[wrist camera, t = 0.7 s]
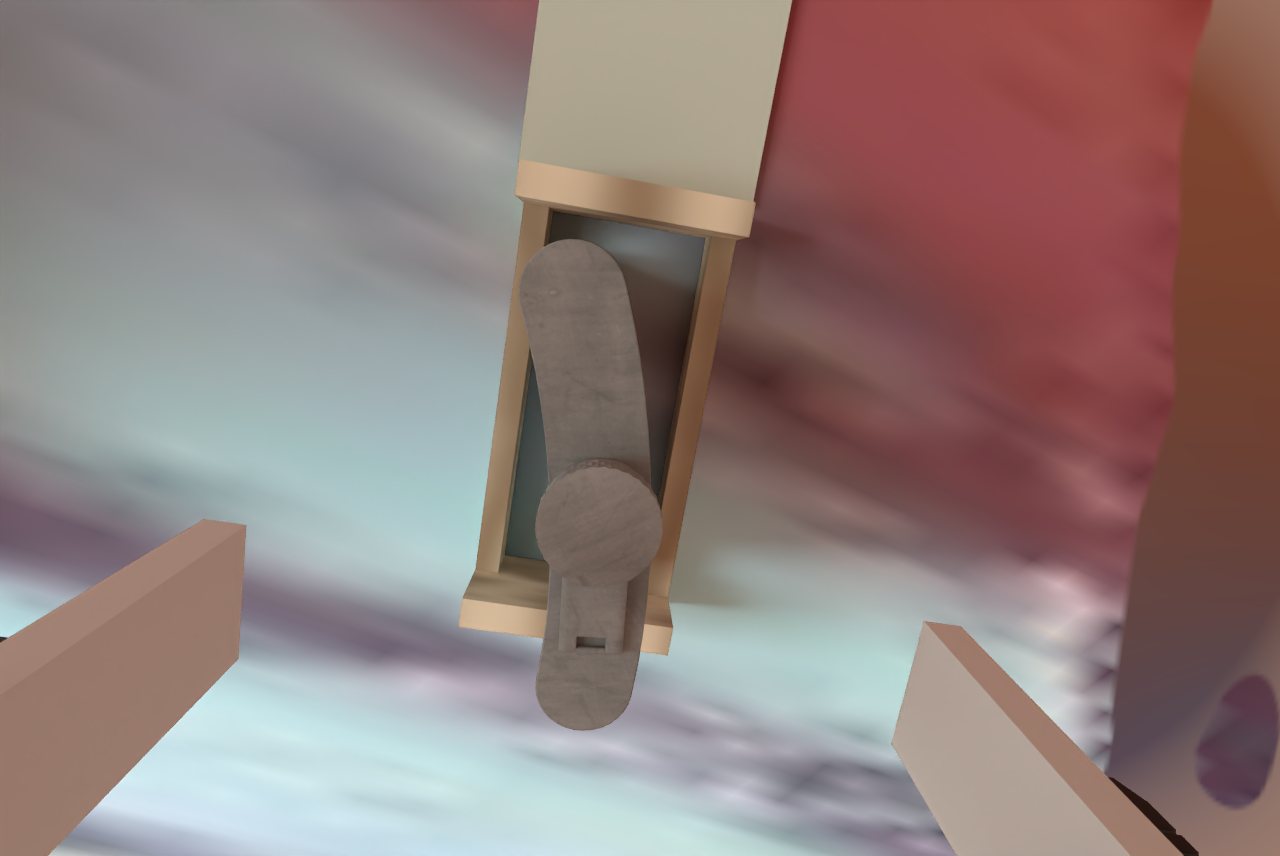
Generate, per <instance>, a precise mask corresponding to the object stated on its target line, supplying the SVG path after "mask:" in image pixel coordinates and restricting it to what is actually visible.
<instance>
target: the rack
mask: <svg viewBox="0 0 1280 856" xmlns="http://www.w3.org/2000/svg"><path fill="white" fill-rule="evenodd" d="M515 196H516V197H518V198H519V199H520V200H522V201H523V202H524V207H523V215H522V222H521V230H520V237H519V245H518V252H517V260H516V268H515V275H514V283H513V290H512V298H511V305H510V313H509V320H508V328H507V336H506V343H505V351H504V358H503V366H502V373H501V381H500V388H499V396H498V403H497V411H496V419H495V426H494V434H493V441H492V449H491V456H490V464H489V471H488V479H487V486H486V494H485V502H484V509H483V517H482V524H481V532H480V539H479V547H478V554H477V562H476V570H475V572H474V574H473V576H472V578H471V581H470V583H469V585H468V587H467V589H466V592H465V594H464V596H463V598H462V605H461V612H460V620H459V627H464V628H471V629H479V630H486V631H493V632H501V633H508V634H515V635H522V636H530V637H537V638H544V632H545V625H546V614H547V604H548V590H549V572H550V566H549V564H548V562H547V561H542V560H535V559H528V558H521V557H514V556H508V555H505V550H506V543H507V536H508V529H509V521H510V514H511V507H512V500H513V493H514V486H515V479H516V472H517V465H518V457H519V450H520V443H521V436H522V429H523V422H524V415H525V408H526V401H527V393H528V386H529V379H530V372H531V365H532V354H531V349H530V344H529V340H528V336H527V332H526V328H525V324H524V320H523V316H522V312H521V308H520V303H519V283H520V279H521V275H522V273H523V270H524V268H525V266H526V264H527V263H528V262H529V260H530V259H531V257H532V256H533V255H534V254H536V253H537V252H538V251H539V250H540V249H542V248H543V247H545V246H546V245H548V244H549V237H550V230H551V223H552V216H553V211H557V212H562V213H568V214H573V215H579V216H585V217H590V218H596V219H601V220H607V221H613V222H618V223H624V224H629V225H635V226H641V227H646V228H652V229H657V230H663V231H669V232H674V233H680V234H685V235H691V236H697V237H702V238H706V239H705V245H704V250H703V256H702V261H701V267H700V272H699V278H698V283H697V289H696V294H695V299H694V305H693V310H692V316H691V321H690V327H689V332H688V338H687V343H686V349H685V354H684V360H683V365H682V371H681V376H680V381H679V387H678V392H677V398H676V403H675V409H674V414H673V420H672V425H671V431H670V436H669V442H668V447H667V453H666V458H665V464H664V469H663V474H662V480H661V485H660V491H659V496H658V503H659V505H660V510H661V514H662V520H663V526H662V530H663V535H662V537H661V545H660V547H659V548H658V550H657V553H656V556H655V557H654V558H653V559H652V560H651V562H650V573H649V585H648V596H647V606H646V614H645V623H644V631H643V638H642V643H641V649H640V652H646V653H654V654H661V655H668V651H669V646H670V641H671V636H672V631H673V625H672V619H671V613H670V607H669V601H668V594H669V589H670V583H671V578H672V573H673V568H674V562H675V557H676V552H677V547H678V541H679V536H680V531H681V526H682V521H683V515H684V510H685V505H686V500H687V494H688V489H689V484H690V479H691V473H692V468H693V463H694V458H695V453H696V447H697V442H698V437H699V432H700V426H701V421H702V416H703V411H704V405H705V400H706V395H707V390H708V385H709V379H710V374H711V369H712V364H713V358H714V353H715V348H716V343H717V338H718V332H719V327H720V322H721V317H722V311H723V306H724V301H725V296H726V290H727V285H728V280H729V275H730V270H731V264H732V259H733V254H734V249H735V243H736V240H739V239H744V238H748V237H749V235H750V230H751V225H752V220H753V215H754V210H755V204H756V202H751V201H746V200H740V199H735V198H729V197H724V196H718V195H713V194H707V193H702V192H697V191H691V190H686V189H680V188H675V187H669V186H664V185H658V184H653V183H647V182H642V181H636V180H631V179H626V178H620V177H615V176H609V175H604V174H598V173H593V172H587V171H582V170H576V169H571V168H566V167H560V166H555V165H549V164H544V163H538V162H533V161H527V160H522V159H519V165H518V173H517V181H516V188H515Z"/></svg>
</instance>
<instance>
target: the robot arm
mask: <svg viewBox="0 0 1280 856" xmlns="http://www.w3.org/2000/svg"><path fill="white" fill-rule="evenodd" d="M245 538H246V525H241V524H234V523H227V522H220V521H213V520H206V519H204V520H202V521H200V522H199V523H197V524H195V525H194V526H192V527H190V528H189V529H187V530H185V531H184V532H182V533H180V534H179V535H177V536H175V537H174V538H172V539H171V540H169V541H167V542H166V543H164V544H162V545H161V546H159V547H157V548H156V549H154V550H152V551H151V552H149V553H147V554H146V555H144V556H142V557H141V558H139V559H138V560H136V561H134V562H133V563H131V564H129V565H128V566H126V567H124V568H123V569H121V570H119V571H118V572H116V573H114V574H113V575H111V576H109V577H108V578H106V579H104V580H103V581H101V582H100V583H98V584H96V585H95V586H93V587H91V588H90V589H88V590H86V591H85V592H83V593H81V594H80V595H78V596H76V597H75V598H73V599H71V600H70V601H68V602H67V603H65V604H63V605H62V606H60V607H58V608H57V609H55V610H53V611H52V612H50V613H48V614H47V615H45V616H43V617H42V618H40V619H38V620H37V621H35V622H34V623H32V624H30V625H29V626H27V627H25V628H24V629H22V630H20V631H19V632H17V633H15V634H14V635H12V636H10V637H9V638H6V637H0V856H48V855H49V854H50V853H51V852H52V851H53V850H54V849H55V848H56V847H57V846H58V845H59V844H60V843H61V841H62V840H63V839H64V838H65V837H66V836H67V835H68V834H69V833H70V832H71V831H72V830H73V829H74V828H75V827H76V826H77V825H78V824H79V823H80V822H81V821H82V820H83V819H84V818H85V817H86V816H87V815H88V814H89V813H90V812H91V811H92V809H93V808H94V807H95V806H96V805H97V804H98V803H99V802H100V801H101V800H102V799H103V798H104V797H105V796H106V795H107V794H108V793H109V792H110V791H111V790H112V789H113V788H114V787H115V786H116V785H117V784H118V783H119V782H120V781H121V780H122V779H123V777H124V776H125V775H126V774H127V773H128V772H129V771H130V770H131V769H132V768H133V767H134V766H135V765H136V764H137V763H138V762H139V761H140V760H141V759H142V758H143V757H144V756H145V755H146V754H147V753H148V752H149V751H150V750H151V749H152V748H153V747H154V745H155V744H156V743H157V742H158V741H159V740H160V739H161V738H162V737H163V736H164V735H165V734H166V733H167V732H168V731H169V730H170V729H171V728H172V727H173V726H174V725H175V724H176V723H177V722H178V721H179V720H180V719H181V718H182V717H183V716H184V714H185V713H186V712H187V711H188V710H189V709H190V708H191V707H192V706H193V705H194V704H195V703H196V702H197V701H198V700H199V699H200V698H201V697H202V696H203V695H204V694H205V693H206V692H207V691H208V690H209V689H210V688H211V687H212V686H213V685H214V684H215V682H216V681H217V680H218V679H219V678H220V677H221V676H222V675H223V674H224V673H225V672H226V671H227V670H228V669H229V668H230V667H231V666H232V665H233V664H234V663H235V662H236V661H237V660H238V655H239V639H240V622H241V605H242V588H243V572H244V555H245ZM891 744H892V746H893V747H894V749H895V751H896V752H897V754H898V756H899V758H900V759H901V761H902V763H903V764H904V766H905V768H906V770H907V771H908V773H909V775H910V776H911V778H912V780H913V781H914V783H915V785H916V787H917V788H918V790H919V792H920V793H921V795H922V797H923V799H924V800H925V802H926V804H927V805H928V807H929V809H930V811H931V812H932V814H933V816H934V817H935V819H936V821H937V822H938V824H939V826H940V828H941V829H942V831H943V833H944V834H945V836H946V838H947V840H948V841H949V843H950V845H951V846H952V848H953V850H954V852H955V853H956V855H957V856H1199V855H1198V851H1196V850H1195V849H1194V848H1193V847H1192V846H1191V845H1190V844H1189V843H1188V842H1187V841H1186V840H1185V839H1184V838H1183V837H1182V836H1181V835H1177V834H1176V830H1175V829H1174V828H1173V827H1172V826H1171V825H1170V824H1169V823H1168V822H1167V821H1166V820H1165V819H1164V818H1163V817H1162V816H1161V815H1160V814H1159V813H1158V812H1157V811H1156V810H1155V809H1154V808H1153V807H1152V806H1151V805H1150V804H1149V803H1148V802H1147V801H1145V800H1144V799H1142V798H1141V797H1140V796H1138V795H1137V794H1135V793H1134V792H1132V791H1131V790H1130V789H1128V788H1127V787H1125V786H1124V785H1122V784H1121V783H1120V782H1118V781H1117V780H1115V779H1114V778H1110V777H1107V776H1106V775H1105V774H1104V773H1103V772H1102V771H1101V770H1100V769H1099V768H1098V767H1097V766H1096V765H1095V764H1094V763H1093V762H1092V761H1091V760H1090V759H1089V758H1088V757H1087V756H1086V755H1085V754H1084V753H1083V751H1082V750H1081V749H1080V748H1079V747H1078V746H1077V745H1076V744H1075V743H1074V742H1073V741H1072V740H1071V739H1070V738H1069V737H1068V736H1067V735H1066V734H1065V733H1064V732H1063V731H1062V730H1061V729H1060V728H1059V727H1058V726H1057V725H1056V724H1055V723H1054V722H1053V721H1052V720H1051V719H1050V718H1049V717H1048V716H1047V714H1046V713H1045V712H1044V711H1043V710H1042V709H1041V708H1040V707H1039V706H1038V705H1037V704H1036V703H1035V702H1034V701H1033V700H1032V699H1031V698H1030V697H1029V696H1028V695H1027V694H1026V693H1025V692H1024V691H1023V690H1022V689H1021V688H1020V687H1019V686H1018V685H1017V684H1016V683H1015V682H1014V681H1013V680H1012V679H1011V677H1010V676H1009V675H1008V674H1007V673H1006V672H1005V671H1004V670H1003V669H1002V668H1001V667H1000V666H999V665H998V664H997V663H996V662H995V661H994V660H993V659H992V658H991V657H990V656H989V655H988V654H987V653H986V652H985V651H984V650H983V649H982V648H981V647H980V646H979V645H978V644H977V643H976V642H975V640H974V639H973V638H972V637H971V636H970V635H969V634H968V633H967V632H966V631H965V630H964V629H963V628H962V627H961V626H954V625H947V624H940V623H933V622H926V621H924V623H923V627H922V630H921V634H920V638H919V642H918V645H917V649H916V653H915V657H914V660H913V664H912V668H911V672H910V675H909V679H908V683H907V687H906V691H905V694H904V698H903V702H902V706H901V709H900V713H899V717H898V721H897V724H896V728H895V732H894V736H893V739H892V743H891Z"/></svg>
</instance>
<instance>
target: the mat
mask: <svg viewBox="0 0 1280 856" xmlns="http://www.w3.org/2000/svg"><path fill="white" fill-rule="evenodd" d="M791 4H792V0H539V6H538V14H537V22H536V29H535V37H534V45H533V53H532V60H531V68H530V76H529V83H528V91H527V99H526V107H525V114H524V122H523V130H522V138H521V145H520V153H519V159H522V160H527V161H533V162H538V163H544V164H549V165H555V166H560V167H566V168H571V169H576V170H582V171H587V172H593V173H598V174H604V175H609V176H615V177H620V178H626V179H631V180H636V181H642V182H647V183H653V184H658V185H664V186H669V187H675V188H680V189H686V190H691V191H697V192H702V193H707V194H713V195H718V196H724V197H729V198H735V199H740V200H746V201H751V202H753V200H754V195H755V189H756V184H757V179H758V174H759V169H760V164H761V159H762V153H763V148H764V143H765V138H766V133H767V128H768V122H769V117H770V112H771V107H772V102H773V97H774V91H775V86H776V81H777V76H778V71H779V66H780V61H781V55H782V50H783V45H784V40H785V35H786V30H787V24H788V19H789V14H790V9H791ZM518 162H519V161H518Z"/></svg>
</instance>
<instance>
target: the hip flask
mask: <svg viewBox="0 0 1280 856" xmlns="http://www.w3.org/2000/svg"><path fill="white" fill-rule="evenodd" d="M519 303H520V308H521V312H522V316H523V320H524V324H525V328H526V332H527V336H528V340H529V344H530V349H531V354H532V358H533V363H534V368H535V372H536V379H537V385H538V391H539V397H540V403H541V410H542V418H543V426H544V434H545V443H546V455H547V468H548V487H547V488H546V491H545V493H544V494H543V496H542V497H541V502H540V503H539V506H538V510H537V514H536V521H535V528H536V533H535V537H536V539H537V541H538V548H539V550H540V551H541V552H542V556H543V558H544V560H546V561H547V562H548V564H549V566H550V572H549V590H548V604H547V614H546V625H545V632H544V639H543V646H542V651H541V657H540V662H539V668H538V673H537V678H536V696H537V699H538V702H539V704H540V706H541V708H542V709H543V711H544V712H545V713H546V715H547V716H548V717H549V718H550V719H552V720H553V721H554V722H556V723H557V724H559V725H561V726H564V727H566V728H570V729H573V730H583V731H584V730H594V729H597V728H601V727H604V726H606V725H608V724H610V723H611V722H613V721H614V720H616V719H617V718H618V717H619V716H620V715H621V714H622V713H623V712H624V710H625V709H626V707H627V705H628V703H629V701H630V698H631V694H632V690H633V685H634V680H635V676H636V671H637V666H638V661H639V655H640V649H641V643H642V638H643V631H644V623H645V614H646V606H647V596H648V585H649V573H650V562H651V560H652V559H653V558H654V557H655V556H656V553H657V550H658V548H659V547H660V545H661V537H662V535H663V530H662V526H663V520H662V514H661V510H660V505H659V503H658V500H657V495H656V494H655V493H654V492H653V490H652V487H651V461H650V442H649V427H648V416H647V406H646V396H645V387H644V380H643V372H642V364H641V357H640V351H639V346H638V340H637V334H636V329H635V323H634V318H633V313H632V309H631V304H630V299H629V295H628V290H627V285H626V281H625V278H624V275H623V272H622V270H621V269H620V267H619V265H618V263H617V262H616V261H615V260H614V258H613V257H612V256H611V255H610V254H609V253H608V252H606V251H605V250H604V249H603V248H601V247H599V246H597V245H595V244H593V243H591V242H588V241H584V240H580V239H565V240H559V241H556V242H553V243H550V244H548V245H546V246H545V247H543V248H542V249H540V250H539V251H538V252H537V253H536V254H534V255H533V256H532V257H531V259H530V260H529V262H528V263H527V264H526V266H525V268H524V270H523V273H522V275H521V279H520V283H519Z"/></svg>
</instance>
